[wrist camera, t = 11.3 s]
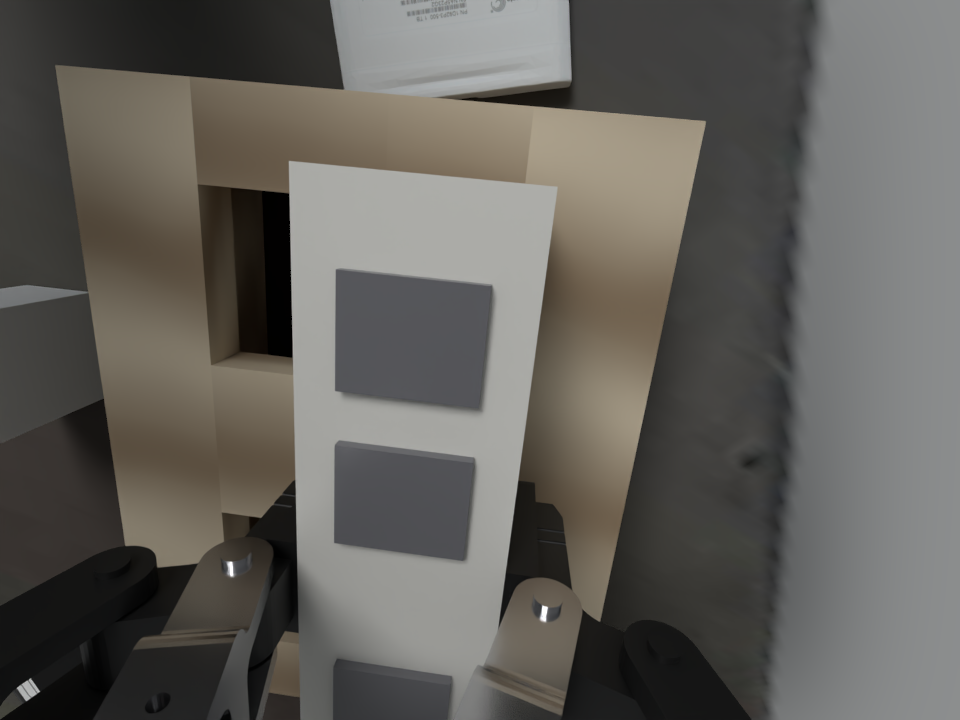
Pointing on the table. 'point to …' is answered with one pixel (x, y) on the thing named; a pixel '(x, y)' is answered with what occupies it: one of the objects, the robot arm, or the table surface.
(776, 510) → the table surface
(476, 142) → the wooden block with holes
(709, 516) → the table surface
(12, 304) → the block
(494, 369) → the power strip
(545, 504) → the robot arm
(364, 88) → the external hard drive
